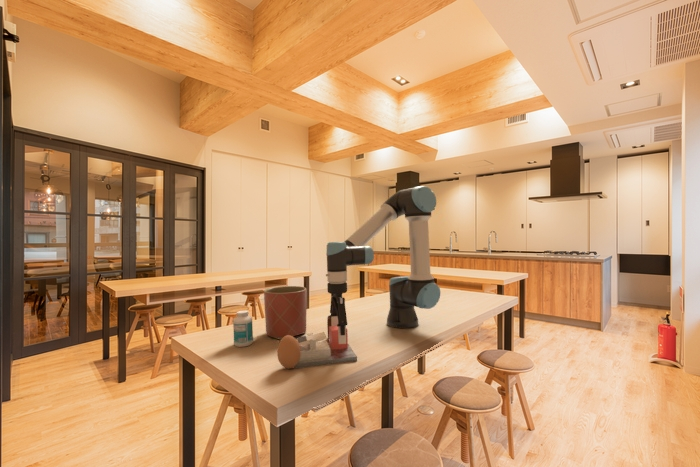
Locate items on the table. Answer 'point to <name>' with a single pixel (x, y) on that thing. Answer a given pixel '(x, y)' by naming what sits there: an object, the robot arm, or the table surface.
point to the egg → (288, 352)
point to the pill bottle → (243, 329)
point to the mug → (329, 323)
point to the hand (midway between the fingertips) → (338, 337)
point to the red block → (336, 338)
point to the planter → (285, 311)
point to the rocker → (306, 339)
